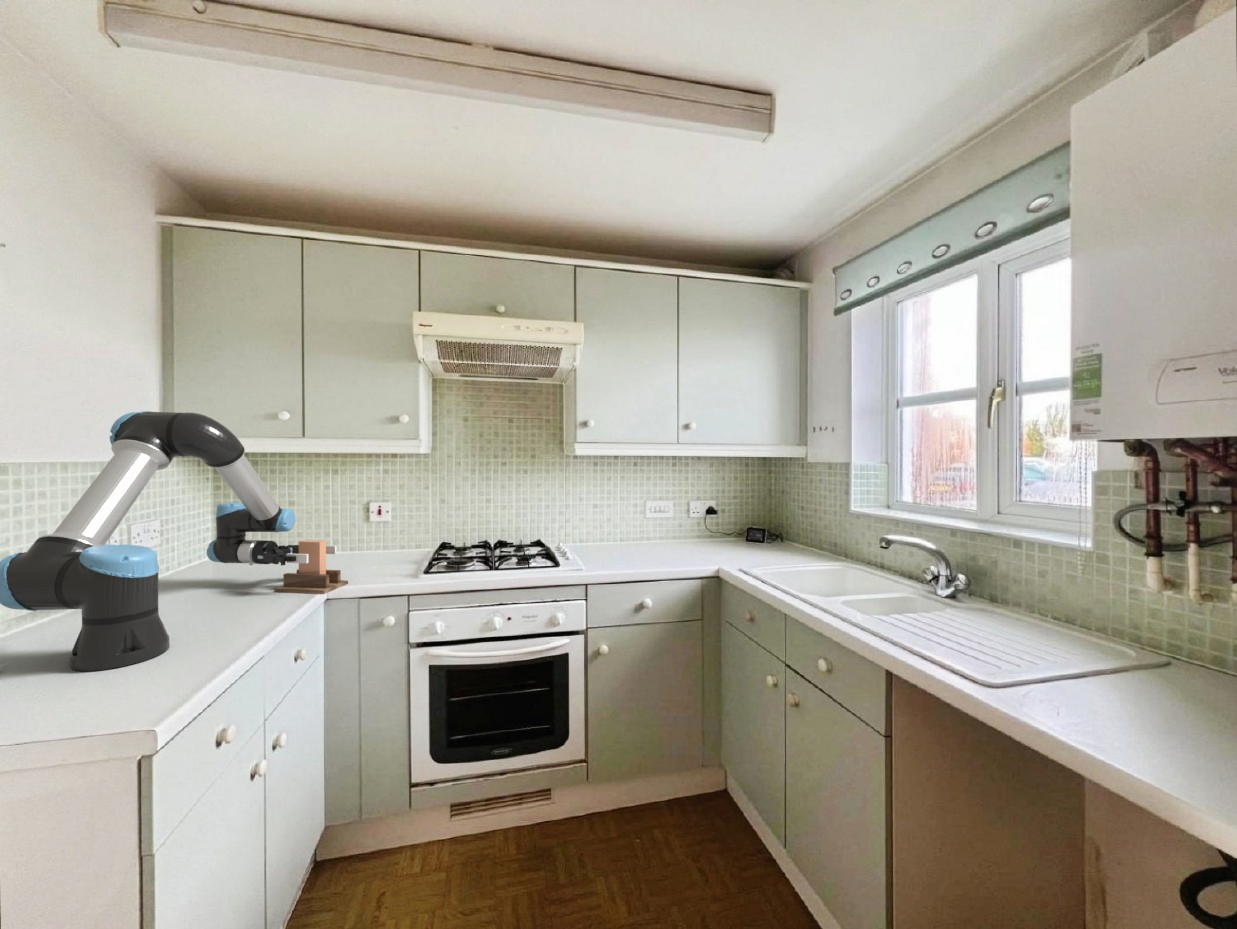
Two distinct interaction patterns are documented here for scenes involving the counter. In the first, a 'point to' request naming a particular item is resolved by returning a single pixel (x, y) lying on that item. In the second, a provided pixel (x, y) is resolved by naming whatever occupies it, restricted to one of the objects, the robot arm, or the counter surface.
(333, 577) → the slot rack
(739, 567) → the counter surface
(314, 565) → the salmon orange block
